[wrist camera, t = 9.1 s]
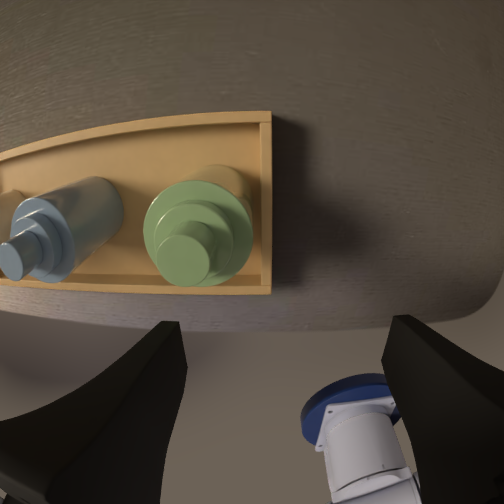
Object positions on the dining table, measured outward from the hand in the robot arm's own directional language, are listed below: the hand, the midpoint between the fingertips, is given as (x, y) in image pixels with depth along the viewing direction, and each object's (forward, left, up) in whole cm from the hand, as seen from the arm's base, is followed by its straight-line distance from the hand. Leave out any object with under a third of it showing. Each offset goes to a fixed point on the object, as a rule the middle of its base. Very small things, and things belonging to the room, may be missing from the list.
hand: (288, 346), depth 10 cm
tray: (+3, +11, -10) cm, 15 cm away
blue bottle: (+3, +11, -9) cm, 15 cm away
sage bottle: (+3, +3, -9) cm, 10 cm away
